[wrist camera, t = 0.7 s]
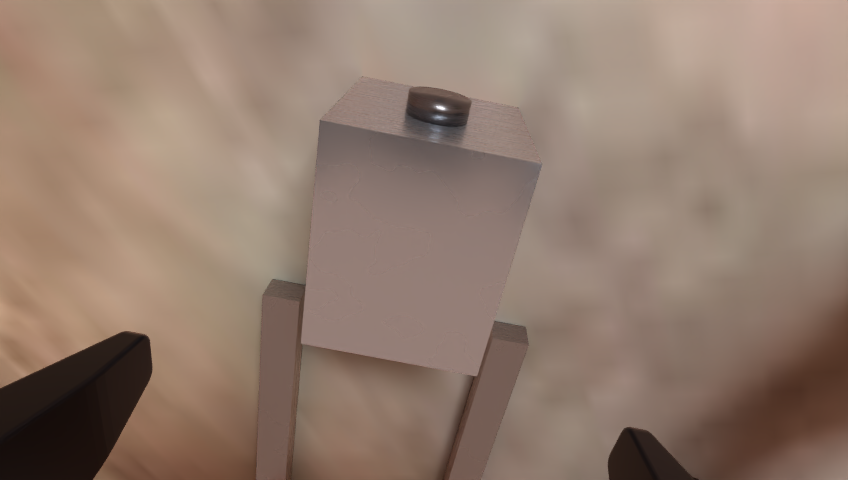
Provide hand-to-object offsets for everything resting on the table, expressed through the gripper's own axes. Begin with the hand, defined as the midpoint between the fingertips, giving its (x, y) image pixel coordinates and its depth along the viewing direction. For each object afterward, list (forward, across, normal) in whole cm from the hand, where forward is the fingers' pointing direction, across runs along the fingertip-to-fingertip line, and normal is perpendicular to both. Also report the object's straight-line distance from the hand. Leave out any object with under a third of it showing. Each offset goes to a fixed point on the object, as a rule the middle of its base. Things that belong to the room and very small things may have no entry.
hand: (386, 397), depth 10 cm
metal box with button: (+11, 0, 0) cm, 11 cm away
